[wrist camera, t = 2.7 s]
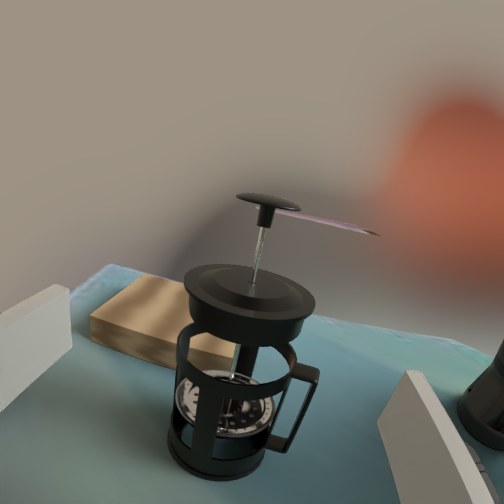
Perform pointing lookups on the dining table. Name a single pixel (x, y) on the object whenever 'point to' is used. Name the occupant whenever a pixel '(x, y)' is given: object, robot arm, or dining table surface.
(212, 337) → the oak base
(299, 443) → the dining table surface
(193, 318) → the french press
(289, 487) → the dining table surface
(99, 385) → the dining table surface
